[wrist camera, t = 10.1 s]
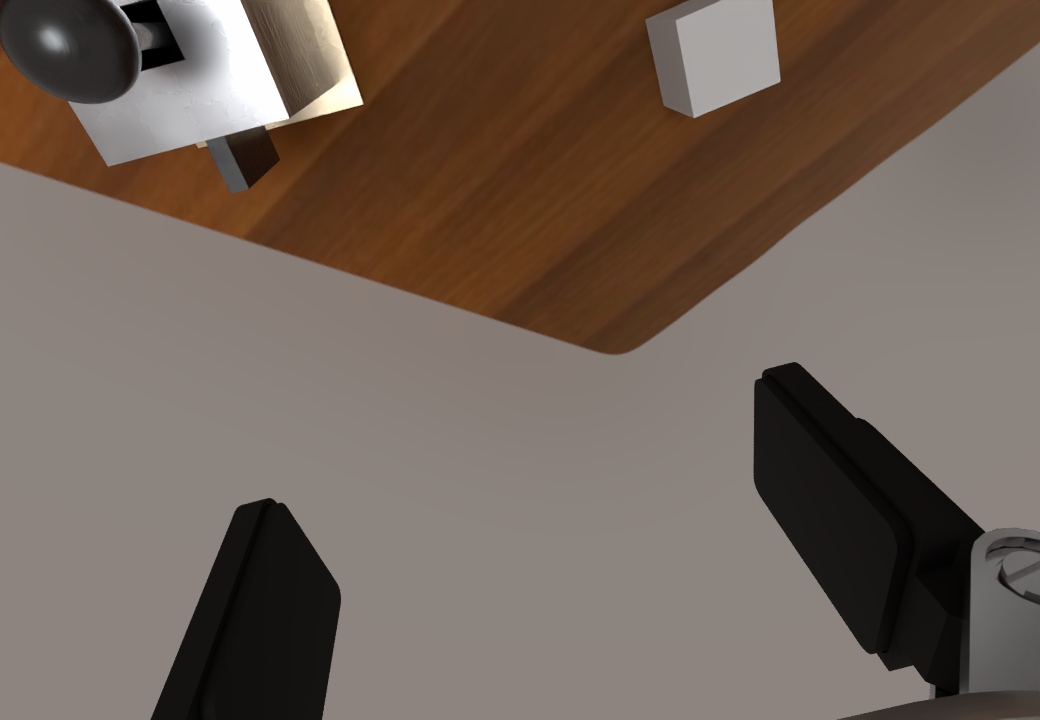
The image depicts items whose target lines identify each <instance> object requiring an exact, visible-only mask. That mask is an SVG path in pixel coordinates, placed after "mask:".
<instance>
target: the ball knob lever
mask: <svg viewBox="0 0 1040 720" xmlns="http://www.w3.org/2000/svg"><path fill="white" fill-rule="evenodd" d="M147 17H148V23H131V21H130V20H129V18H128V17H127V16H126V14H125V13H124V12H123V10H122V9H121V8H120V7H119V6H118V5H117V4H116V3H115V2H114V1H113V0H0V43H1V46H2V48H3V50H4V51H5V53H6V55H7V56H8V58H9V59H10V61H11V62H12V63H13V65H14V66H15V67H16V68H17V69H18V70H19V71H20V72H21V73H22V74H23V75H24V76H25V77H26V78H27V79H28V80H30V81H31V82H32V83H33V84H35V85H36V86H38V87H39V88H41V89H42V90H44V91H46V92H47V93H49V94H51V95H54V96H56V97H58V98H61V99H64V100H67V101H70V102H75V103H81V104H102V103H107V102H110V101H113V100H116V99H118V98H120V97H122V96H123V95H125V94H126V93H127V92H128V91H129V90H130V89H131V88H132V87H133V86H134V85H135V83H136V81H137V80H138V77H139V74H140V71H141V66H142V50H148V49H156V48H158V50H159V52H160V54H161V55H162V57H163V58H164V59H165V61H166V62H167V63H168V64H171V63H175V62H178V61H182V60H185V58H184V56H183V54H182V52H181V50H180V47H179V45H178V43H177V41H176V39H175V37H174V35H173V33H172V31H171V29H170V27H169V25H168V23H167V21H166V19H165V17H164V15H163V13H162V11H161V9H160V7H159V5H158V3H157V0H151V1H148V2H147Z"/></svg>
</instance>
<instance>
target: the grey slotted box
mask: <svg viewBox="0 0 1040 720" xmlns="http://www.w3.org/2000/svg"><path fill="white" fill-rule="evenodd" d="M113 1H114V2H115V3H116V4H117V5H118V6H119V7H120V8H121V9H122V10H123V12H124V13H125V14H126V16H127V17H128V18H129V20H130V21H131V23H148V17H147V2H148V1H151V0H113ZM157 3H158V5H159V7H160V9H161V11H162V13H163V15H164V17H165V19H166V21H167V23H168V25H169V27H170V29H171V31H172V33H173V35H174V37H175V39H176V41H177V43H178V45H179V47H180V50H181V52H182V54H183V56H184V58H185V60H182V61H178V62H175V63H171V64H168V63H167V62H166V61H165V59H164V58H163V57H162V55H161V54H160V52H159V50H158V48H156V49H148V50H142V66H141V71H140V74H139V77H138V80H137V81H136V83H135V85H134V86H133V87H132V88H131V89H130V90H129V91H128V92H127V93H126V94H125V95H123V96H122V97H120V98H118V99H116V100H113V101H110V102H107V103H102V104H81V103H75V102H70V101H68V102H69V104H70V105H71V107H72V108H73V110H74V112H75V113H76V115H77V117H78V118H79V120H80V121H81V123H82V125H83V126H84V128H85V130H86V131H87V133H88V134H89V136H90V138H91V139H92V141H93V143H94V144H95V146H96V147H97V149H98V151H99V152H100V154H101V156H102V157H103V159H104V161H105V162H106V164H107V165H108V166H112V165H116V164H119V163H123V162H127V161H131V160H134V159H138V158H142V157H146V156H149V155H153V154H157V153H161V152H164V151H168V150H172V149H176V148H179V147H183V146H187V145H191V144H194V143H196V145H197V147H198V148H201V147H205V146H208V149H209V151H210V153H211V155H212V157H213V159H214V161H215V163H216V165H217V167H218V169H219V171H220V173H221V175H222V177H223V179H224V181H225V183H226V185H227V187H228V189H229V191H230V192H231V193H235V192H239V191H242V190H246V189H249V188H250V187H251V186H253V185H254V184H255V183H256V182H257V181H258V180H259V179H260V178H261V177H262V176H263V175H264V174H265V173H267V172H268V171H269V170H270V169H271V168H272V167H273V166H274V165H275V164H276V163H277V162H278V161H279V160H280V159H279V157H278V154H277V152H276V150H275V148H274V145H273V143H272V141H271V139H270V136H269V134H268V132H267V130H269V129H272V128H276V127H280V126H284V125H287V124H291V123H295V122H299V121H302V120H306V119H310V118H314V117H317V116H321V115H325V114H329V113H333V112H336V111H340V110H344V109H348V108H351V107H355V106H359V105H363V104H364V101H363V98H362V95H361V92H360V90H359V87H358V84H357V81H356V78H355V75H354V72H353V69H352V66H351V64H350V61H349V58H348V55H347V52H346V49H345V46H344V43H343V40H342V38H341V35H340V32H339V29H338V26H337V23H336V20H335V17H334V14H333V12H332V9H331V6H330V3H329V0H157Z"/></svg>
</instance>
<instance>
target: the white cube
mask: <svg viewBox="0 0 1040 720" xmlns="http://www.w3.org/2000/svg"><path fill="white" fill-rule="evenodd" d="M645 21H646V25H647V30H648V35H649V39H650V44H651V49H652V53H653V58H654V63H655V67H656V72H657V77H658V81H659V86H660V91H661V95H662V100H663V105H664V106H665V107H668V108H670V109H673V110H675V111H677V112H680V113H682V114H685V115H687V116H690V117H692V118H696V117H698V116H700V115H703V114H705V113H707V112H710V111H712V110H715V109H717V108H719V107H722V106H724V105H726V104H729V103H731V102H734V101H736V100H738V99H741V98H743V97H745V96H748V95H750V94H752V93H755V92H757V91H760V90H762V89H764V88H767V87H769V86H771V85H774V84H776V83H779V82H780V72H779V62H778V52H777V43H776V33H775V23H774V13H773V3H772V0H688V1H686V2H684V3H682V4H679V5H677V6H675V7H673V8H670V9H668V10H666V11H664V12H661V13H659V14H657V15H655V16H652V17H650V18H648V19H645Z"/></svg>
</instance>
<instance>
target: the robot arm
mask: <svg viewBox="0 0 1040 720" xmlns="http://www.w3.org/2000/svg"><path fill="white" fill-rule="evenodd" d="M754 482H755V486H756V489H757V491H758V493H759V495H760V497H761V498H762V500H763V501H764V503H765V504H766V506H767V507H768V508H769V510H770V512H771V513H772V515H773V516H774V518H775V519H776V521H777V522H778V523H779V525H780V526H781V528H782V529H783V531H784V532H785V534H786V535H787V537H788V538H789V540H790V541H791V543H792V544H793V546H794V547H795V549H796V550H797V552H798V553H799V554H800V556H801V558H802V559H803V561H804V562H805V564H806V565H807V566H808V568H809V569H810V571H811V572H812V574H813V575H814V577H815V578H816V580H817V581H818V583H819V584H820V586H821V587H822V589H823V590H824V592H825V593H826V595H827V596H828V598H829V599H830V601H831V602H832V604H833V605H834V607H835V608H836V610H837V611H838V613H839V614H840V616H841V617H842V619H843V620H844V622H845V623H846V625H847V626H848V628H849V629H850V631H851V632H852V633H853V635H854V636H855V638H856V639H857V641H858V642H859V644H860V645H861V646H862V648H863V649H864V650H865V651H866V652H867V653H869V654H875V653H877V654H878V656H879V657H880V659H881V660H882V662H883V663H884V665H885V666H886V668H887V669H888V670H889V671H893V670H897V669H901V668H904V667H908V666H912V665H914V667H915V668H916V670H917V671H918V672H919V674H920V675H921V676H922V678H923V679H924V680H925V681H926V682H928V683H930V695H929V700H924V701H919V702H913V703H908V704H904V705H900V706H895V707H891V708H886V709H882V710H878V711H873V712H869V713H864V714H860V715H855V716H851V717H847V718H842V719H838V720H1040V532H1037V531H1034V530H1027V529H1020V528H1002V529H995V530H992V531H989V532H987V533H986V532H985V531H984V530H983V529H982V528H981V527H979V526H978V525H977V524H976V523H975V522H974V521H973V520H972V519H971V518H970V517H969V516H968V515H967V514H966V513H965V512H963V510H961V509H960V508H959V507H958V506H957V505H956V504H955V503H954V502H953V501H952V500H951V499H950V498H949V497H948V496H947V495H946V494H944V493H943V492H942V491H941V490H940V489H939V488H938V487H937V486H936V485H935V484H934V483H933V482H932V481H931V480H930V479H929V478H928V477H926V476H925V475H924V474H923V473H922V472H921V471H920V470H919V469H918V468H917V467H916V466H915V465H914V464H912V462H910V461H909V460H908V459H907V458H906V457H905V456H904V455H903V454H902V453H901V452H900V451H899V450H898V449H897V448H896V447H894V446H893V445H892V444H891V443H890V442H889V441H888V440H887V439H886V438H885V437H884V436H883V435H882V434H881V433H880V432H879V431H877V430H876V428H874V427H873V426H872V425H871V424H870V423H868V422H867V421H865V420H863V419H860V418H855V417H854V416H853V415H852V414H851V413H850V412H849V411H848V410H847V409H846V408H845V407H844V406H842V404H841V403H839V402H838V401H837V400H836V399H835V398H834V397H833V396H832V395H831V394H830V393H829V392H828V391H827V390H826V389H825V388H824V387H823V386H822V385H821V384H820V383H819V382H818V381H817V380H816V379H815V378H814V377H812V376H811V375H810V374H809V373H808V372H807V371H806V370H805V369H804V368H803V367H802V366H801V365H800V364H798V363H796V362H793V363H788V364H784V365H780V366H777V367H773V368H769V369H766V370H764V371H763V373H762V378H761V379H757V380H756V381H755V386H754ZM340 605H341V594H340V589H339V586H338V584H337V583H336V581H335V579H334V578H333V576H332V575H331V573H330V572H329V570H328V569H327V567H326V566H325V564H324V563H323V561H322V560H321V558H320V557H319V555H318V554H317V552H316V551H315V549H314V547H313V546H312V544H311V543H310V541H309V540H308V538H307V537H306V535H305V534H304V532H303V531H302V529H301V528H300V526H299V525H298V523H297V522H296V520H295V518H294V517H293V515H292V514H291V512H290V511H289V509H288V508H287V506H286V505H285V504H283V503H278V504H277V503H276V501H275V500H273V499H271V498H267V499H263V500H259V501H256V502H252V503H248V504H244V505H241V506H239V507H238V508H237V509H236V511H235V513H234V515H233V518H232V520H231V523H230V525H229V528H228V530H227V532H226V535H225V537H224V540H223V542H222V545H221V547H220V550H219V552H218V555H217V557H216V560H215V562H214V564H213V567H212V569H211V572H210V574H209V577H208V579H207V582H206V584H205V587H204V589H203V592H202V594H201V597H200V599H199V602H198V604H197V606H196V609H195V611H194V614H193V617H192V619H191V621H190V624H189V626H188V629H187V631H186V634H185V636H184V639H183V641H182V643H181V646H180V648H179V651H178V653H177V656H176V658H175V661H174V663H173V666H172V668H171V671H170V673H169V676H168V678H167V680H166V683H165V685H164V688H163V690H162V693H161V695H160V698H159V700H158V703H157V705H156V708H155V710H154V713H153V715H152V718H151V720H322V716H323V710H324V704H325V697H326V691H327V685H328V679H329V673H330V666H331V661H332V654H333V648H334V642H335V636H336V630H337V624H338V618H339V611H340Z"/></svg>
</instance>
